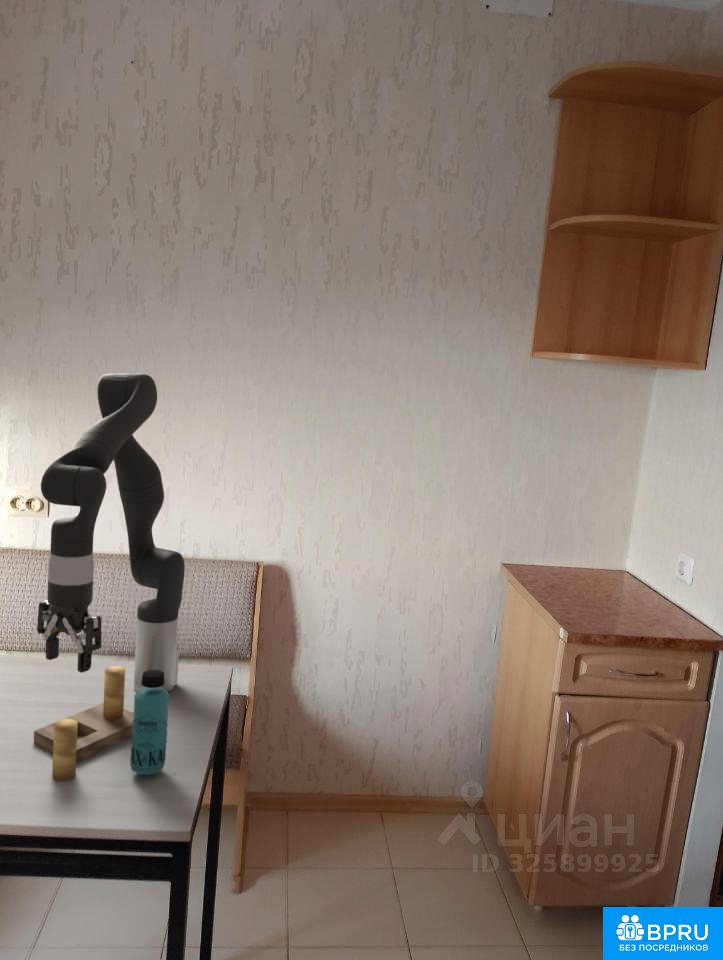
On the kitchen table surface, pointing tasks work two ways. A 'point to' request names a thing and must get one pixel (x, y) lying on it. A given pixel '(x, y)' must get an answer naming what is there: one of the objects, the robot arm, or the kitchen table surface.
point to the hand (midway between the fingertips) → (67, 664)
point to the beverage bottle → (149, 724)
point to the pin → (64, 749)
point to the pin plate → (98, 720)
